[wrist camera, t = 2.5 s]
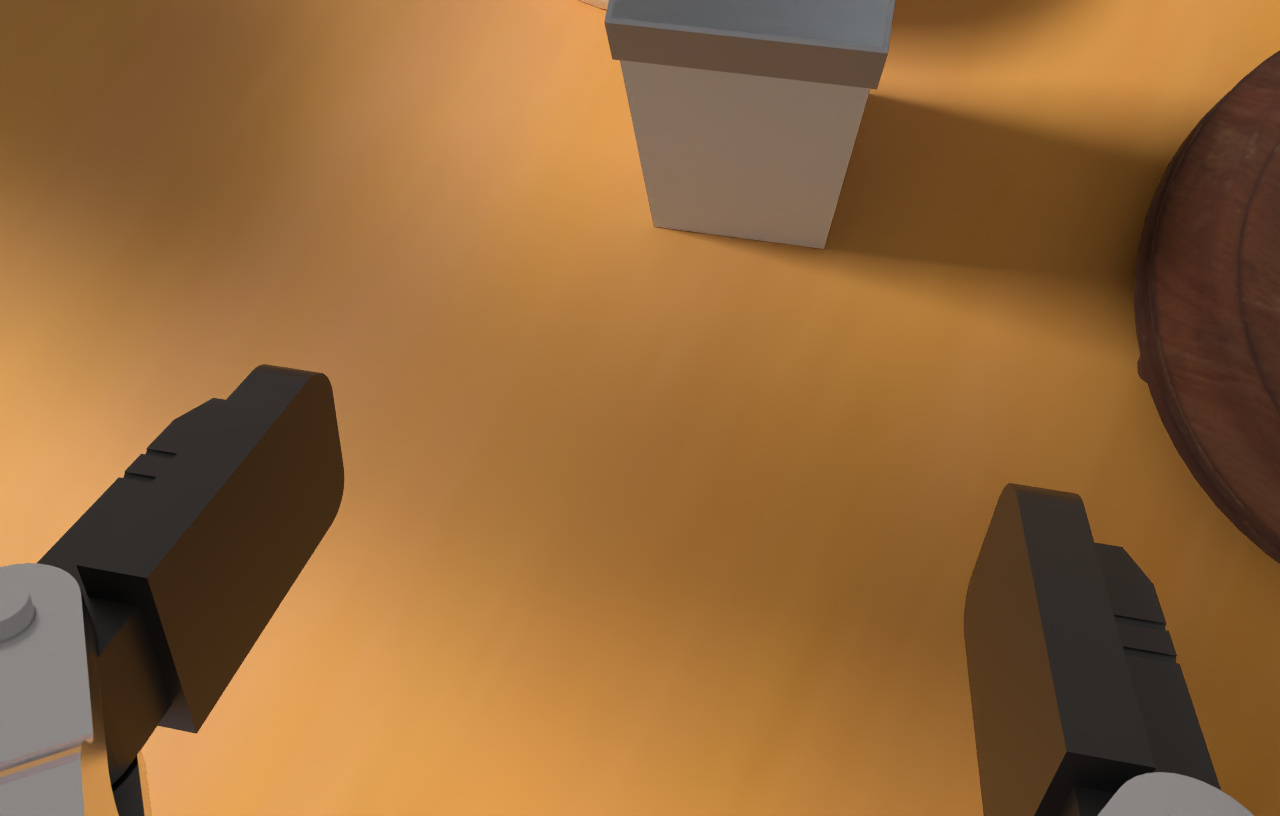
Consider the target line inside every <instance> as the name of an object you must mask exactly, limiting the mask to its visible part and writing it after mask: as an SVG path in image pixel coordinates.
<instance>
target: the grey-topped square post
mask: <svg viewBox="0 0 1280 816" xmlns="http://www.w3.org/2000/svg"><path fill="white" fill-rule="evenodd" d="M894 5H895V0H609V2H608V7H607V12H606V18H605V27H606V31H607V36H608V41H609V45H610V50H611V55H612V59H615V60H620V62H621V67H622V72H623V77H624V82H625V87H626V92H627V97H628V102H629V107H630V112H631V117H632V122H633V127H634V132H635V136H636V141H637V146H638V151H639V156H640V161H641V166H642V171H643V176H644V181H645V186H646V191H647V196H648V201H649V206H650V210H651V215H652V220H653V225H654V227H661V228H669V229H676V230H684V231H692V232H699V233H707V234H714V235H722V236H729V237H737V238H745V239H752V240H760V241H767V242H775V243H782V244H790V245H798V246H805V247H813V248H820V249H824V247H825V243H826V240H827V236H828V233H829V229H830V226H831V223H832V219H833V216H834V212H835V209H836V205H837V202H838V198H839V195H840V192H841V188H842V185H843V181H844V178H845V174H846V171H847V167H848V164H849V160H850V157H851V154H852V150H853V147H854V143H855V140H856V136H857V133H858V129H859V126H860V123H861V119H862V116H863V112H864V109H865V105H866V102H867V98H868V95H869V92H870V89H877V87H878V84H879V81H880V77H881V74H882V71H883V68H884V64H885V61H886V58H887V54H888V48H889V41H890V34H891V27H892V19H893V12H894Z"/></svg>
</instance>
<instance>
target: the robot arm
mask: <svg viewBox="0 0 1280 816" xmlns="http://www.w3.org/2000/svg"><path fill="white" fill-rule="evenodd" d="M343 489H344V467H343V460H342V453H341V446H340V439H339V433H338V426H337V419H336V412H335V405H334V398H333V391H332V386H331V383H330V381H329V379H328V377H327V376H326V375H325V374H323V373H317V372H311V371H304V370H298V369H292V368H285V367H279V366H272V365H265V364H263V365H260V366H258V367H256V368H255V369H254V370H253V371H252V372H251V373H250V374H249V375H248V377H247V378H246V379H245V380H244V381H243V382H242V383H241V384H240V385H239V386H238V388H237V389H236V390H235V391H234V392H233V393H232V394H231V395H230V396H229V397H228V399H227V400H223V399H217V398H212V399H211V400H209V401H207V402H205V403H204V404H202V405H200V406H198V407H196V408H195V409H193V410H191V411H189V412H187V413H186V414H184V415H182V416H180V417H178V418H177V419H175V420H173V421H172V422H171V424H170V425H169V426H168V427H167V428H166V429H165V430H164V431H163V432H162V433H161V434H160V435H159V436H158V437H157V438H156V439H155V440H154V441H153V442H152V443H151V444H150V445H149V447H148V448H147V452H146V454H141V455H140V456H139V457H138V458H137V459H136V460H135V461H134V462H133V463H132V464H131V465H130V466H129V467H128V468H127V470H126V471H125V475H124V477H123V478H118V479H117V480H116V481H115V482H114V483H113V484H112V485H111V486H110V487H109V488H108V489H107V490H106V491H105V493H104V494H103V495H102V496H101V497H100V498H99V499H98V500H97V501H96V502H95V503H94V504H93V505H92V506H91V507H90V508H89V509H88V510H87V511H86V512H85V513H84V514H83V515H82V517H81V518H80V519H79V520H78V521H77V522H76V523H75V524H74V525H73V526H72V527H71V528H70V529H69V530H68V531H67V532H66V533H65V534H64V535H63V536H62V537H61V538H60V540H59V541H58V542H57V543H56V544H55V545H54V546H53V547H52V548H51V549H50V550H49V551H48V552H47V553H46V554H45V555H44V556H43V557H42V558H41V559H40V560H39V561H38V563H36V564H33V563H26V564H15V565H9V566H4V567H0V816H152V811H151V803H150V796H149V788H148V781H147V773H146V765H145V761H144V757H143V754H142V752H141V749H142V747H143V746H144V744H145V743H146V741H147V740H148V738H149V737H150V736H151V734H152V733H153V731H154V730H155V728H156V727H157V726H162V727H167V728H172V729H177V730H182V731H187V732H192V733H197V732H198V731H199V729H200V727H201V726H202V724H203V723H204V721H205V720H206V718H207V717H208V715H209V714H210V712H211V710H212V709H213V707H214V706H215V704H216V703H217V701H218V700H219V698H220V696H221V695H222V693H223V692H224V690H225V689H226V687H227V686H228V684H229V683H230V681H231V679H232V678H233V676H234V675H235V673H236V672H237V670H238V669H239V667H240V665H241V664H242V662H243V661H244V659H245V658H246V656H247V655H248V653H249V651H250V650H251V648H252V647H253V645H254V644H255V642H256V641H257V639H258V638H259V636H260V634H261V633H262V631H263V630H264V628H265V627H266V625H267V624H268V622H269V620H270V619H271V617H272V616H273V614H274V613H275V611H276V610H277V608H278V606H279V605H280V603H281V602H282V600H283V599H284V597H285V596H286V594H287V593H288V591H289V589H290V588H291V586H292V585H293V583H294V582H295V580H296V579H297V577H298V575H299V574H300V572H301V571H302V569H303V568H304V566H305V565H306V563H307V561H308V560H309V558H310V557H311V555H312V554H313V552H314V551H315V549H316V548H317V546H318V544H319V543H320V541H321V540H322V538H323V537H324V535H325V534H326V532H327V530H328V529H329V527H330V526H331V524H332V523H333V521H334V519H335V517H336V515H337V512H338V510H339V507H340V503H341V500H342V495H343ZM1165 625H1166V621H1165V618H1164V615H1163V612H1162V609H1161V606H1160V603H1159V600H1158V597H1157V594H1156V591H1155V588H1154V585H1153V583H1152V582H1151V581H1150V580H1149V579H1148V577H1147V576H1146V575H1145V574H1144V573H1143V571H1142V570H1141V569H1140V568H1139V567H1138V565H1137V564H1136V563H1135V562H1134V561H1133V559H1132V558H1131V557H1130V556H1129V555H1128V553H1127V552H1126V551H1125V550H1124V549H1123V547H1118V546H1112V545H1105V544H1099V543H1094V540H1093V537H1092V533H1091V529H1090V526H1089V522H1088V519H1087V515H1086V511H1085V508H1084V504H1083V501H1082V499H1081V497H1080V496H1079V495H1078V494H1075V493H1069V492H1062V491H1056V490H1049V489H1043V488H1037V487H1030V486H1024V485H1018V484H1011V483H1009V484H1007V485H1006V486H1005V488H1004V489H1003V491H1002V493H1001V495H1000V497H999V500H998V503H997V506H996V508H995V511H994V514H993V517H992V520H991V523H990V525H989V528H988V531H987V534H986V537H985V539H984V542H983V545H982V548H981V551H980V553H979V556H978V559H977V562H976V565H975V568H974V570H973V573H972V576H971V579H970V582H969V586H968V591H967V596H966V602H965V611H964V637H965V646H966V656H967V665H968V674H969V683H970V693H971V702H972V711H973V720H974V729H975V739H976V748H977V757H978V766H979V775H980V785H981V794H982V803H983V812H984V816H1254V815H1253V814H1252V813H1251V812H1250V811H1249V810H1248V809H1246V808H1245V807H1244V806H1243V805H1241V804H1240V803H1239V802H1237V801H1236V800H1235V799H1234V798H1232V797H1231V796H1229V795H1227V794H1226V793H1224V792H1222V790H1221V788H1220V786H1219V783H1218V780H1217V777H1216V774H1215V771H1214V768H1213V765H1212V761H1211V758H1210V755H1209V752H1208V749H1207V746H1206V743H1205V740H1204V737H1203V734H1202V731H1201V728H1200V725H1199V722H1198V719H1197V716H1196V713H1195V710H1194V707H1193V704H1192V701H1191V698H1190V695H1189V691H1188V688H1187V685H1186V682H1185V679H1184V676H1183V673H1182V670H1181V667H1180V664H1177V663H1176V656H1177V655H1176V652H1175V649H1174V646H1173V643H1172V640H1171V637H1170V634H1169V631H1165Z"/></svg>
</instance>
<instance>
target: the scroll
mask: <svg viewBox="0 0 1280 816" xmlns="http://www.w3.org/2000/svg"><path fill="white" fill-rule="evenodd" d="M1134 308H1135V320H1136V333H1137V339H1138V344H1139V350H1140V358H1139V360H1138V374H1139V376H1140V378H1141V379H1142V380H1143V381H1145V382H1146V383H1148V386H1149V389H1150V392H1151V395H1152V398H1153V400H1154V403H1155V405H1156V408H1157V410H1158V413H1159V415H1160V417H1161V420H1162V422H1163V424H1164V426H1165V428H1166V430H1167V432H1168V434H1169V436H1170V438H1171V440H1172V442H1173V444H1174V446H1175V447H1176V449H1177V451H1178V453H1179V454H1180V456H1181V458H1182V459H1183V461H1184V462H1185V464H1186V465H1187V467H1188V468H1189V470H1190V471H1191V473H1192V475H1193V476H1194V478H1195V479H1196V480H1197V482H1198V483H1199V484H1200V486H1201V487H1202V488H1203V489H1204V491H1205V492H1206V493H1207V494H1208V496H1209V497H1210V498H1211V499H1212V501H1213V502H1214V503H1215V505H1216V506H1217V507H1218V508H1219V509H1220V510H1221V511H1222V512H1223V513H1224V514H1225V515H1226V516H1227V517H1228V518H1229V519H1230V521H1231V522H1232V523H1233V524H1234V525H1235V526H1236V527H1237V528H1238V529H1239V530H1240V531H1241V532H1242V533H1243V534H1244V535H1246V536H1247V537H1248V538H1249V539H1250V540H1251V541H1252V542H1254V543H1255V544H1256V545H1257V546H1258V547H1259V548H1260V549H1261V550H1263V551H1264V552H1265V553H1266V554H1267V555H1269V556H1270V557H1271V558H1273V559H1274V560H1275V561H1277V562H1278V563H1280V51H1278V52H1277V53H1275V54H1274V55H1272V56H1271V57H1269V58H1268V59H1266V60H1265V61H1264V62H1262V63H1261V64H1260V65H1259V66H1257V67H1256V68H1255V69H1254V70H1253V71H1251V72H1250V73H1249V74H1248V75H1247V76H1245V77H1244V78H1243V79H1242V80H1241V81H1240V82H1239V83H1238V84H1237V85H1236V86H1235V87H1234V88H1233V89H1232V90H1231V91H1229V92H1228V93H1227V94H1226V95H1225V96H1224V97H1223V98H1222V99H1221V100H1220V101H1219V102H1218V103H1217V104H1216V105H1215V106H1214V107H1213V108H1212V109H1211V110H1210V111H1209V112H1208V113H1207V114H1206V115H1205V116H1204V117H1203V118H1202V119H1201V120H1200V121H1199V123H1198V124H1197V125H1196V126H1195V128H1194V129H1193V130H1192V132H1191V133H1190V134H1189V135H1188V137H1187V138H1186V139H1185V140H1184V142H1183V143H1182V145H1181V146H1180V148H1179V149H1178V151H1177V152H1176V154H1175V156H1174V157H1173V159H1172V160H1171V162H1170V163H1169V165H1168V167H1167V169H1166V171H1165V173H1164V175H1163V177H1162V179H1161V181H1160V183H1159V185H1158V187H1157V189H1156V191H1155V194H1154V197H1153V199H1152V202H1151V205H1150V208H1149V210H1148V213H1147V216H1146V219H1145V223H1144V227H1143V231H1142V235H1141V239H1140V243H1139V248H1138V256H1137V263H1136V271H1135V292H1134Z"/></svg>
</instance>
